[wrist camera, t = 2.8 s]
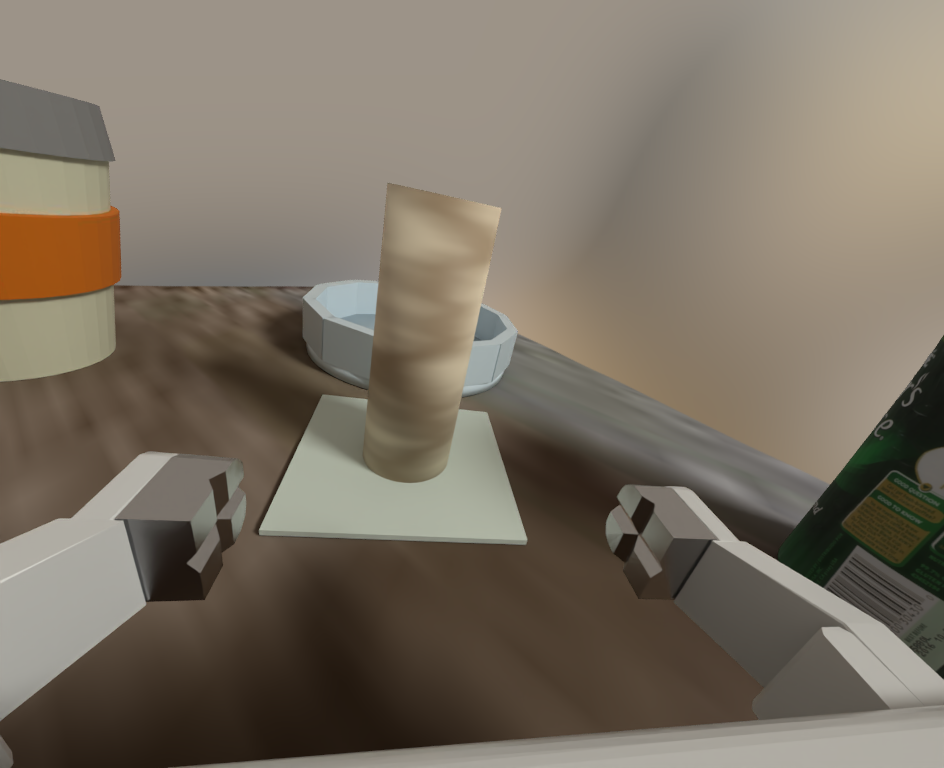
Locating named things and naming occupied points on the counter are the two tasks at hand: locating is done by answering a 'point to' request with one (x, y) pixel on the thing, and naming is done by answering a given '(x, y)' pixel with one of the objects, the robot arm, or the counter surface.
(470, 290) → the pepper mill
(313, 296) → the bowl
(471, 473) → the mat
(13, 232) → the reusable coffee cup
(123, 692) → the counter surface
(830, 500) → the coffee jar
